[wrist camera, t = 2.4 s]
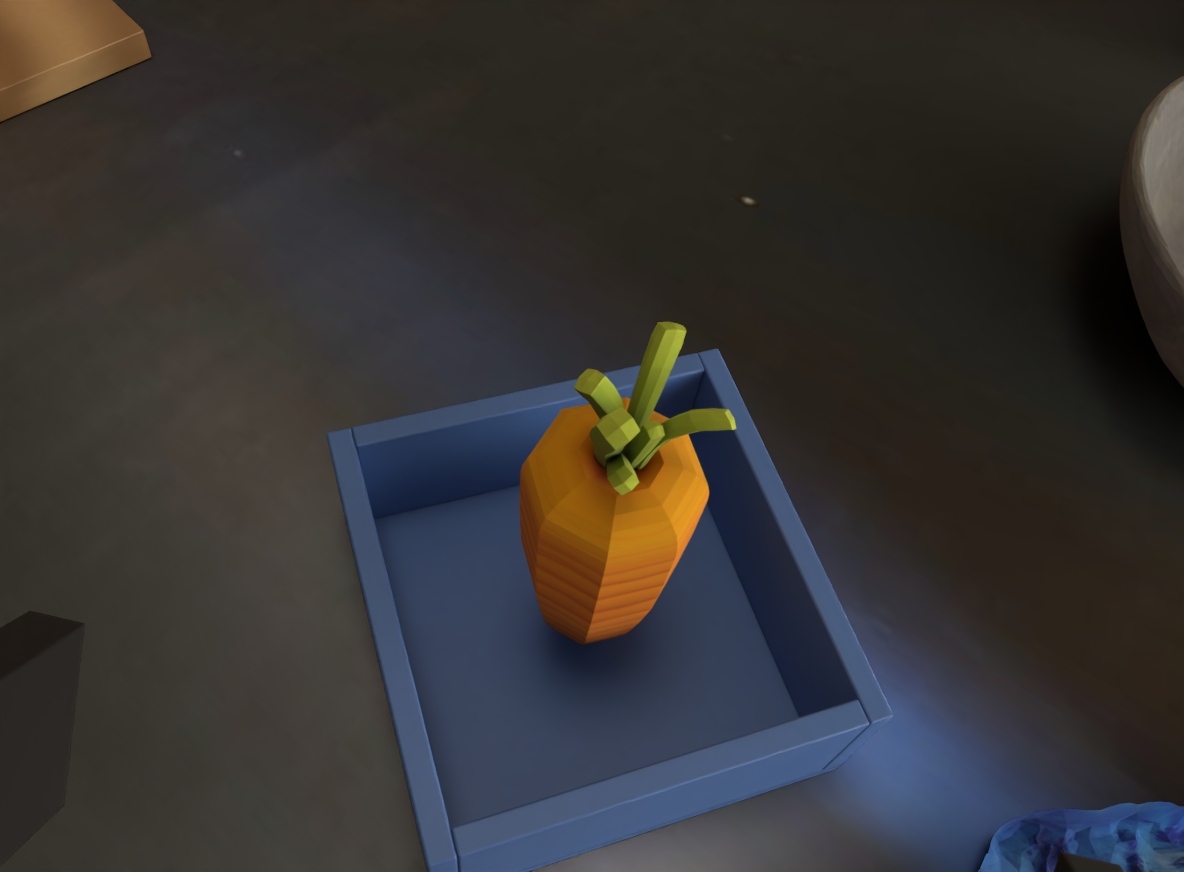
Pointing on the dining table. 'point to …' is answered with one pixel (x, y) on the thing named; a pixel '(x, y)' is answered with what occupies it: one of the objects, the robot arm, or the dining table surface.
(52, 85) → the board
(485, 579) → the bin
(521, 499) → the carrot
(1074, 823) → the blue flat piece
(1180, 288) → the bowl
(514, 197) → the dining table surface
